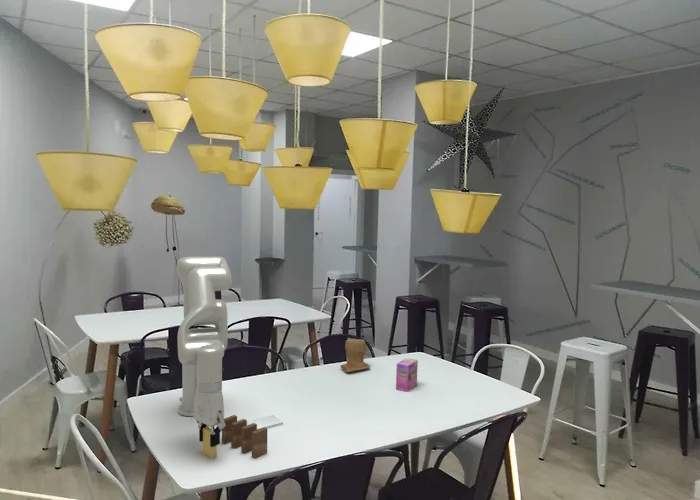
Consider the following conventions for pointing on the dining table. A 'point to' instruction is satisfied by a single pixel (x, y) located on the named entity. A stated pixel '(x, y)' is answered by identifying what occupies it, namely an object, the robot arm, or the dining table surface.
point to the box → (406, 374)
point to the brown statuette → (355, 355)
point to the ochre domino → (208, 443)
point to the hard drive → (266, 422)
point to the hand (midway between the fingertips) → (209, 442)
